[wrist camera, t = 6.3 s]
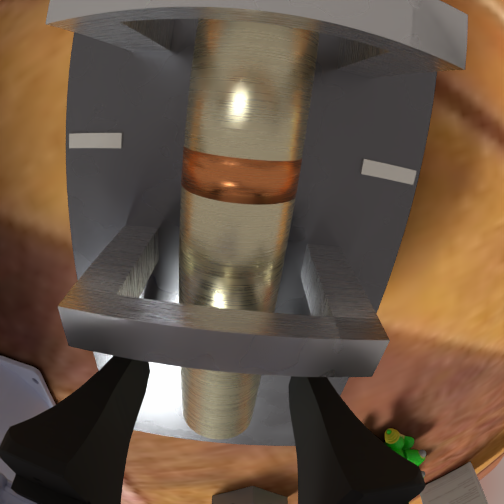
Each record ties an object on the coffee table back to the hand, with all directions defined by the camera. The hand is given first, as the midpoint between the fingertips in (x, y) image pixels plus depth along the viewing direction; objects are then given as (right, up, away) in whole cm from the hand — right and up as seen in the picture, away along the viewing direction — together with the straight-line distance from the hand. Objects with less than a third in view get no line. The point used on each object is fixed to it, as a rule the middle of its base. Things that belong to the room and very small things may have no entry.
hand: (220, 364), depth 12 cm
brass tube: (+1, +5, -3) cm, 6 cm away
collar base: (0, +4, 0) cm, 4 cm away
